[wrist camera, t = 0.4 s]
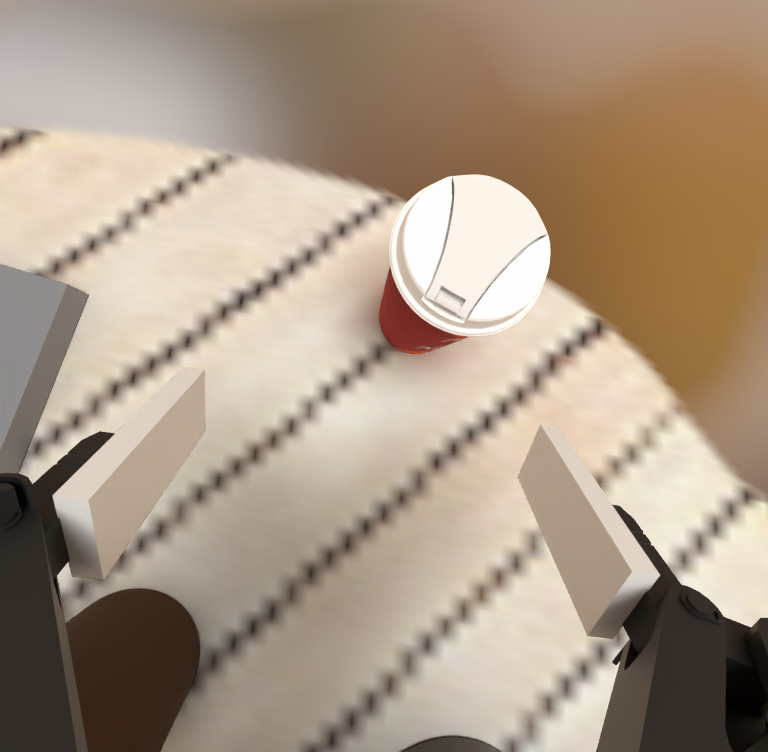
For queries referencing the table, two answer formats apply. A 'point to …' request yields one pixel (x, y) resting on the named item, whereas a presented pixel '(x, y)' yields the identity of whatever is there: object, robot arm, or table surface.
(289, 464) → the table surface
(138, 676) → the olive oil
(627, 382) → the table surface
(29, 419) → the plate
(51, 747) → the robot arm
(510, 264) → the coffee cup
